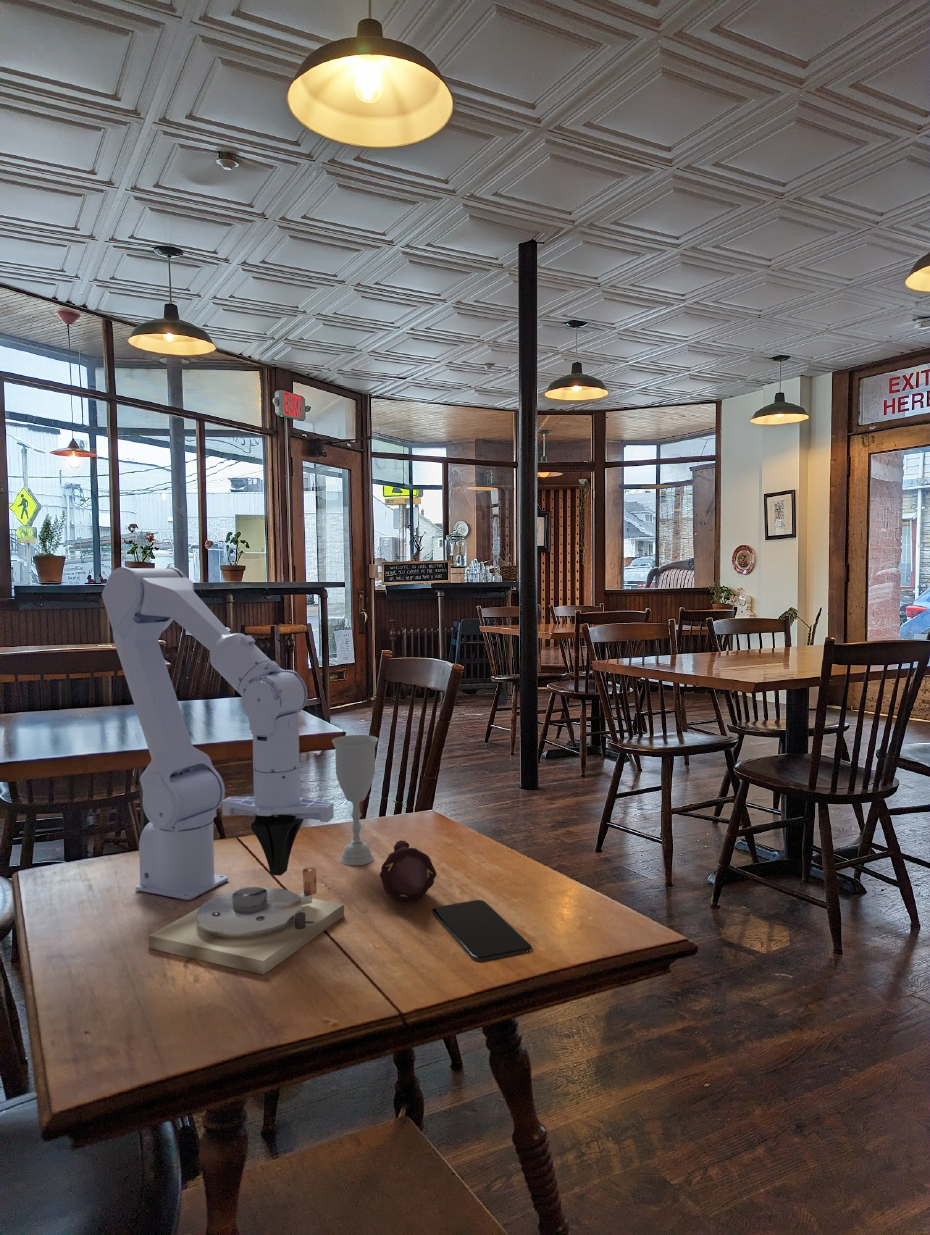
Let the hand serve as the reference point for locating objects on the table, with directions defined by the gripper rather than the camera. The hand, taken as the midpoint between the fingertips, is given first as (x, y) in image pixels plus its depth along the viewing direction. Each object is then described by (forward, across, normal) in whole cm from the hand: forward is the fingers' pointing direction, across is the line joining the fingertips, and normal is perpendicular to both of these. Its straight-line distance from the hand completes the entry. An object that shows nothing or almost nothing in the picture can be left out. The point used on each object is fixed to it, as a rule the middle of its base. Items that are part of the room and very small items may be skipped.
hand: (278, 872), depth 104 cm
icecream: (+5, +15, +6) cm, 17 cm away
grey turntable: (+2, +1, -7) cm, 7 cm away
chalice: (+5, +4, +18) cm, 19 cm away
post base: (+4, 0, -8) cm, 9 cm away
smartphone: (+5, +26, -1) cm, 27 cm away
